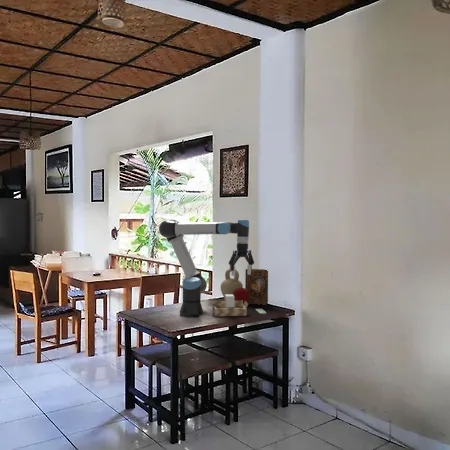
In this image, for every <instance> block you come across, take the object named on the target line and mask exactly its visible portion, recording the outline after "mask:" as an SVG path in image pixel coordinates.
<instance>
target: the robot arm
mask: <svg viewBox="0 0 450 450" xmlns="http://www.w3.org/2000/svg"><path fill="white" fill-rule="evenodd" d="M158 233H159V234H160V235H161V237H163V238H166V240H167V242H168V243H169V244H171V247H172V249H173V251H174V253H175V256H176V257H177V261H178V262H179V265H180V268H181V269H182V272H183V273H184V275H185V276H184V279H183V281H182V304H181V307H180V309H179V315H180V317H187V318H197V317H200V315H203V314H204V309H203V307H202V302H201V298H202V297H201V294H203V293H204V292H205V291H206V289H207V287H208V286H207V281H206V279H205V278H204V277H203V276H202V273H201V272H200V271H198V270H197V268H196V265H195V263H194V260H193V258H192V257H191V254H190V252H189V249H188V247H187V245H186V242H185V241H184V237H185V235H187V236H189V235H191V236H194V235H199V236H200V235H224V236H225V235H228V234H235V235H236V234H237V235H236V242H237V243H236V250H233V251H232V255H231V257H230V259H229V261H228V265H229V266H230V265H231V270H232V272H231V273H230V276H233V277H234V276H235V269H236V264H237V262H238V261H239V259H241V258H244V259H245V260H246V262H247V263H248V264H247V268H246V269H247V274H249V275H251V269H253V267H252V266H253V265H255V261H254V257H253V254H252V249H249V233H250V220H249V219H237V221H236V222H235V221H234V222H233V221H220V222H219V221H218V222H186V223H185V222H180V221H178V220H176V219H166V220H163V221H162V222H161V223H160V224H159V227H158Z"/></svg>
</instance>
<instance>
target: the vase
mask: <svg viewBox="0 0 450 450" xmlns="http://www.w3.org/2000/svg"><path fill="white" fill-rule="evenodd" d="M231 273H232V270H231V265H229V268H228V269H227V270H226V271H225V273H224V274H225V275H224V277H225V279H224V280H223V281H222V282H221V283H220V291H221V295H222V297H223V298H224V299H225V294H233V292H234V290H235V289H237V288H241V287H242V288H244V285H243V283H242V281H241V280H240V279H239V278H240V273H239V271H238V270H237V269H236V268H235V276H233V277H234V278H232V277H231ZM234 301H235V300H234Z"/></svg>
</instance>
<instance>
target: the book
mask: <svg viewBox="0 0 450 450" xmlns="http://www.w3.org/2000/svg"><path fill="white" fill-rule="evenodd" d="M267 270H268V269H267ZM267 270H265V269H258V268H252V269H251V275H249V274H247V268H245V276H244V277H245V279H244V280H245V281H244V283H245V287H244V288H245V289H247V290H248V291H249V293H250V295H249V299H248V302H247V303H248V305H249V304H258V305H259V306H267V305H268V303H269V270H268V271H267ZM260 304H262V305H260ZM258 305H257V306H258Z"/></svg>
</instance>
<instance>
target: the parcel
mask: <svg viewBox="0 0 450 450" xmlns="http://www.w3.org/2000/svg"><path fill="white" fill-rule="evenodd" d="M224 301H225V309H226V308H234V295H233V294H225V298H224Z"/></svg>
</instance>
